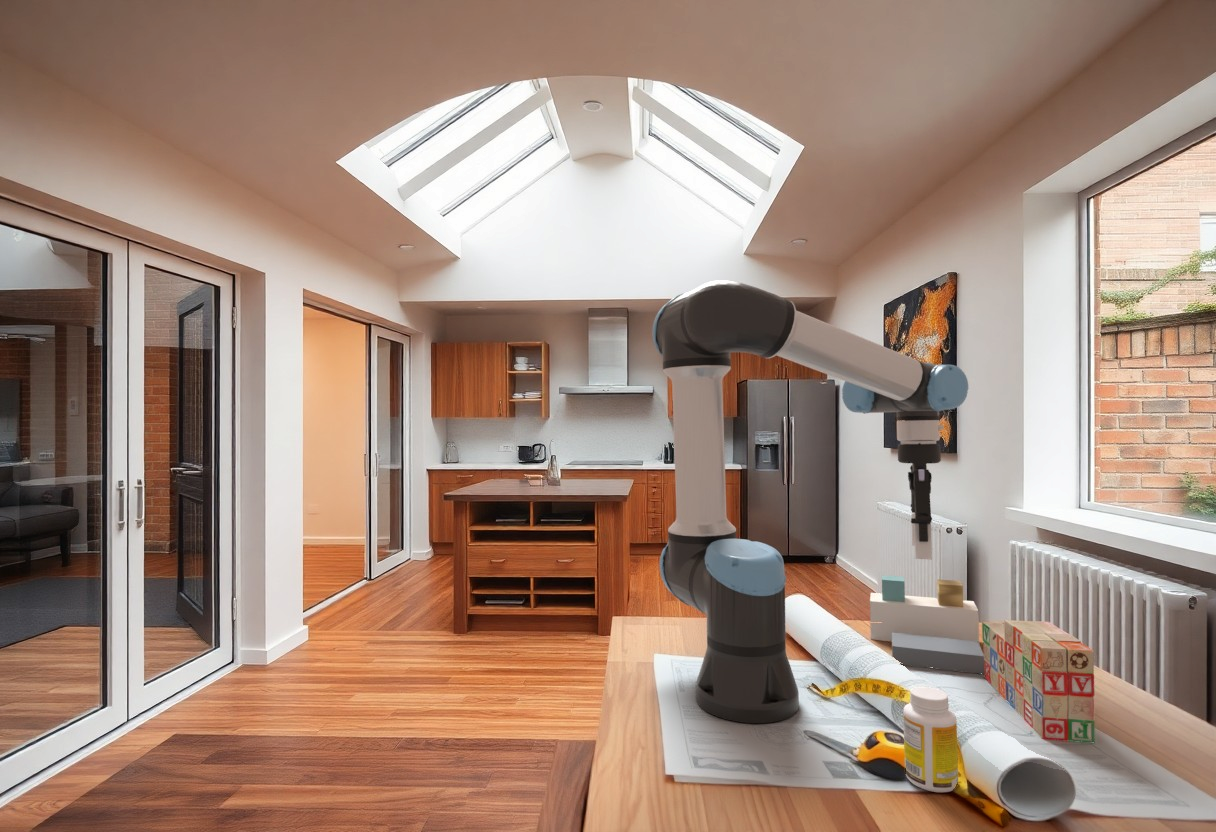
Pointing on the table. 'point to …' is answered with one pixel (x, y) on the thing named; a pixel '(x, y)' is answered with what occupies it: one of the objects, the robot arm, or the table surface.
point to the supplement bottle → (930, 740)
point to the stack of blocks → (1042, 677)
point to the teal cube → (893, 588)
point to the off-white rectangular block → (923, 618)
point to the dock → (938, 653)
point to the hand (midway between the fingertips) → (921, 552)
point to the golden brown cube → (950, 593)
